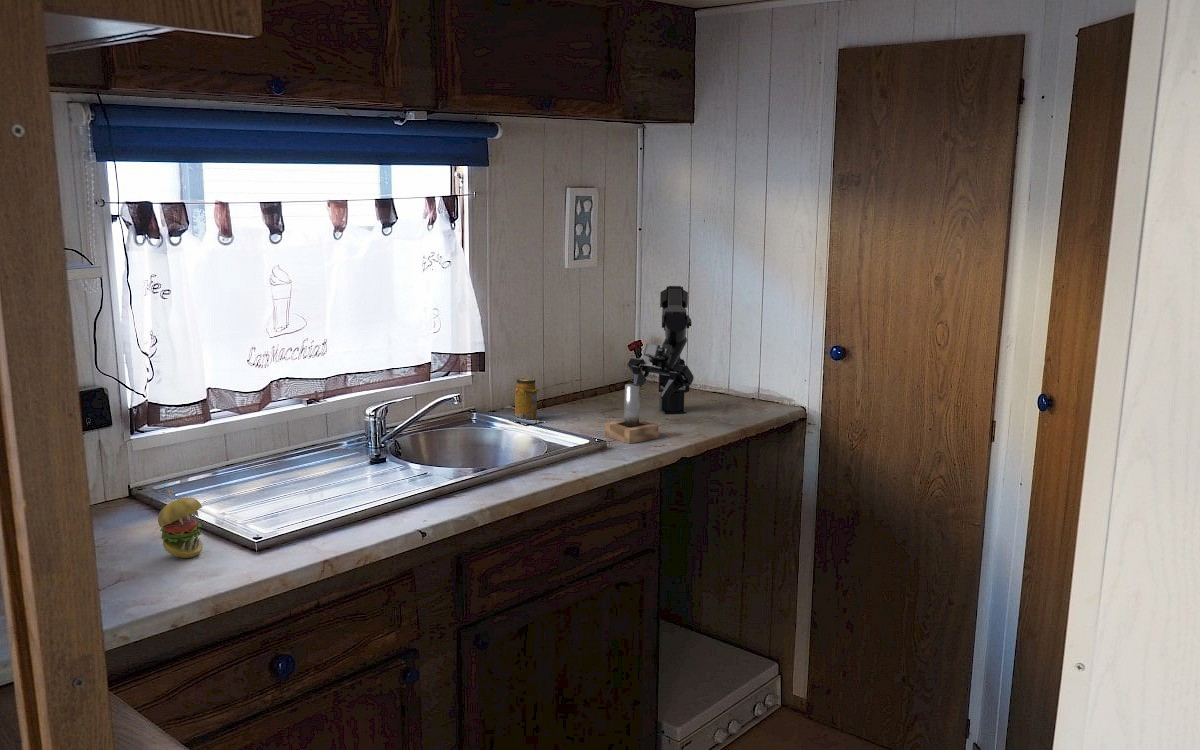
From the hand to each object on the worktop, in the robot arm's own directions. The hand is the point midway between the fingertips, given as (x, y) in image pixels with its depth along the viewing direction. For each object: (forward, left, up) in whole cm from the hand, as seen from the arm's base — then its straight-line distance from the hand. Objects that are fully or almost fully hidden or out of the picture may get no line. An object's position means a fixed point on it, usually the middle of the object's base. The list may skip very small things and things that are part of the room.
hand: (647, 396), depth 276 cm
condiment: (+30, -18, -10) cm, 36 cm away
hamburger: (+108, +72, -10) cm, 130 cm away
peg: (+6, +5, -10) cm, 12 cm away
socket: (+6, +5, -10) cm, 12 cm away
